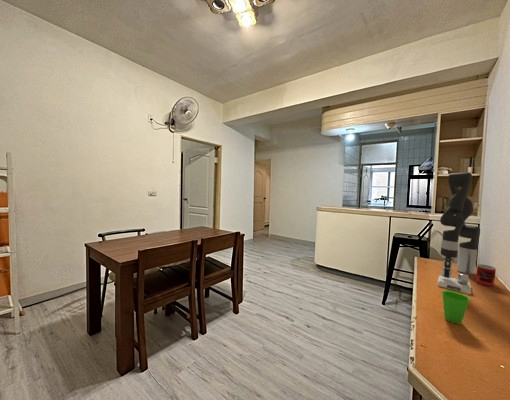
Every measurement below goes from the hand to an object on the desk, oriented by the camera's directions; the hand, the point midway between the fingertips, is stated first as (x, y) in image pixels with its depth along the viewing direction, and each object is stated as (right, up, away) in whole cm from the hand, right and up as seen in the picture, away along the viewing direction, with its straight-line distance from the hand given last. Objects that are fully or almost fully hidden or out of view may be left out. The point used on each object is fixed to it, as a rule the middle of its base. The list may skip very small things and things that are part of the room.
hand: (446, 276), depth 130 cm
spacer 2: (+5, -2, -5) cm, 7 cm away
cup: (-31, -6, -38) cm, 49 cm away
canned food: (+27, -6, +4) cm, 28 cm away
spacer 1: (0, 0, 0) cm, 0 cm away
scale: (+2, -5, -2) cm, 6 cm away
